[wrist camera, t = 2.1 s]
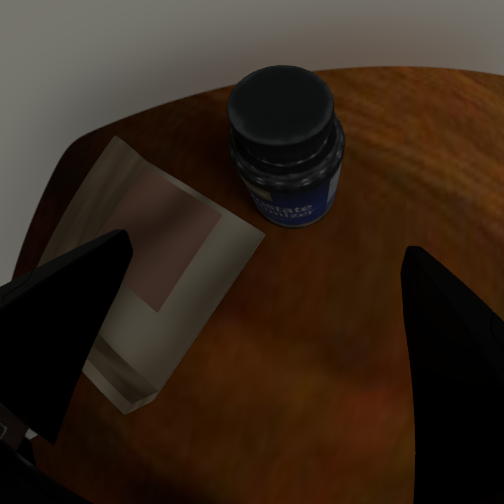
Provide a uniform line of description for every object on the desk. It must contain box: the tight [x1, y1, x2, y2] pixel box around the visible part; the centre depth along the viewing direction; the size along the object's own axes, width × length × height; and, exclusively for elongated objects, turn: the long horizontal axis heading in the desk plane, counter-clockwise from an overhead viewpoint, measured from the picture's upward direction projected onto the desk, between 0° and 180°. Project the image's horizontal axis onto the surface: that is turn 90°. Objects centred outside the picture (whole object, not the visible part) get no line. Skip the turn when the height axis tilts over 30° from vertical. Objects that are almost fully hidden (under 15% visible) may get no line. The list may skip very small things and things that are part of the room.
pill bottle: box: [227, 65, 345, 229], centre depth 17 cm, size 6×6×11 cm
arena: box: [37, 136, 265, 415], centre depth 22 cm, size 14×16×4 cm
